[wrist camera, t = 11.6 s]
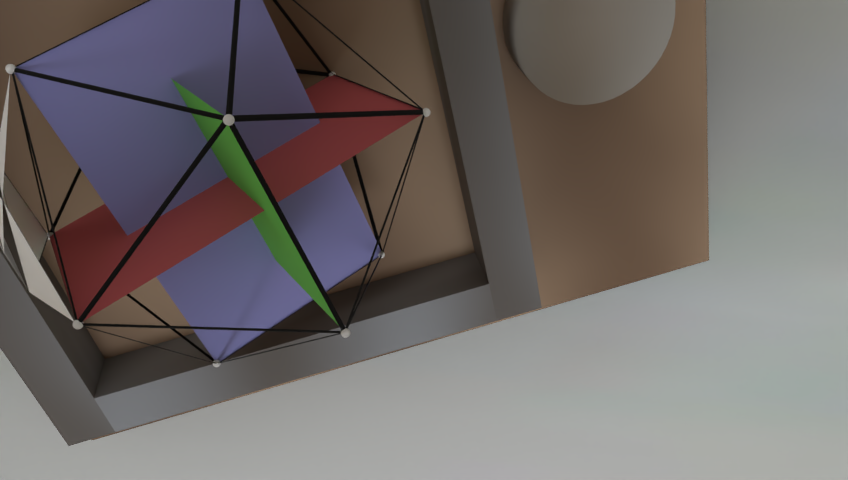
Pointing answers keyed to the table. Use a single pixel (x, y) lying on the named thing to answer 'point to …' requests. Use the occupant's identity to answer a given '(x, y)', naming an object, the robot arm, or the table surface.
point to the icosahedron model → (201, 171)
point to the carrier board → (421, 196)
